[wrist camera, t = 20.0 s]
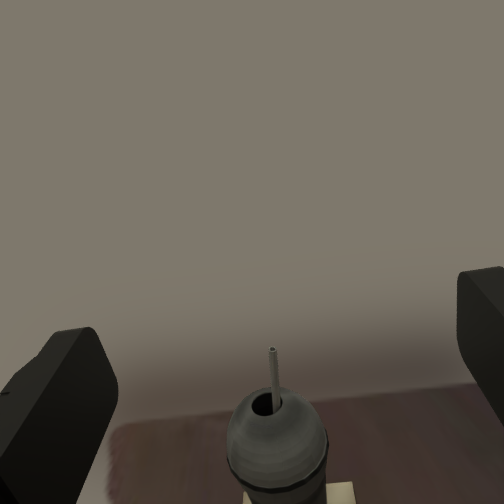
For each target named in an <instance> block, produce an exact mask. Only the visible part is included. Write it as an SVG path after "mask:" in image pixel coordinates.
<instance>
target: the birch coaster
mask: <svg viewBox="0 0 504 504" xmlns="http://www.w3.org/2000/svg"><path fill="white" fill-rule="evenodd" d="M326 493H327V504H356V501H355V496H354V491H353V486H352V482H343V483H332V484H326ZM243 504H252V503H251V501H250V499H249V497H248V495H247V492H244V498H243Z"/></svg>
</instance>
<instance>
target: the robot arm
mask: <svg viewBox="0 0 504 504" xmlns="http://www.w3.org/2000/svg"><path fill="white" fill-rule="evenodd" d="M457 341H458V346H459V349H460V353H461V356H462V358H463V360H464V362H465V364H466V366H467V367H468V369H469V371H470V372H471V374H472V376H473V377H474V379H475V381H476V382H477V384H478V385H479V387H480V389H481V390H482V392H483V394H484V395H485V397H486V398H487V400H488V402H489V403H490V405H491V407H492V408H493V410H494V412H495V413H496V415H497V416H498V418H499V420H500V421H501V423H502V425H503V426H504V268H503V267H500V266H498V267H491V268H485V269H478V270H472V271H465V272H461V273H460V274H459V276H458V280H457ZM117 401H118V383H117V379H116V376H115V374H114V372H113V369H112V367H111V365H110V362H109V360H108V358H107V356H106V353H105V351H104V349H103V346H102V344H101V342H100V340H99V337H98V335H97V333H96V332H95V330H94V329H92V328H90V327H84V328H78V329H71V330H65V331H58V332H55V333H54V334H53V335H52V336H51V337H50V339H49V340H48V341H47V343H46V344H45V346H44V347H43V348H42V350H41V351H40V352H39V354H38V355H37V356H36V357H34V358H33V359H32V360H31V361H30V362H29V363H27V364H26V365H25V366H24V367H22V368H21V369H20V370H19V371H18V372H16V373H15V374H14V375H13V377H12V378H11V379H10V381H9V382H8V383H7V385H6V386H5V387H4V389H3V390H2V391H1V393H0V504H76V502H77V500H78V497H79V495H80V492H81V490H82V488H83V485H84V483H85V480H86V478H87V475H88V473H89V471H90V468H91V466H92V463H93V461H94V458H95V456H96V454H97V451H98V449H99V446H100V444H101V442H102V439H103V437H104V434H105V432H106V429H107V427H108V425H109V422H110V420H111V418H112V415H113V413H114V410H115V408H116V405H117Z"/></svg>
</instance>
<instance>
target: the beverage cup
mask: <svg viewBox="0 0 504 504" xmlns="http://www.w3.org/2000/svg"><path fill="white" fill-rule="evenodd" d="M269 362H270V375H271V387H269V388H262V389H260V390H257V391H255V392H253V393H251V394H250V395H249V396H247V397H245V398H244V399H243V400H242V402H241V403H240V404H239V405H238V406H237V408H236V409H235V410H234V413H233V415H232V417H231V420H230V422H229V424H228V429H227V461H228V464H229V467H230V470H231V473H232V474H233V475H234V476H235V477H236V479H237V480H238V482H239V483H240V485H241V486H242V488H243V489H244V490H245V491H246V492H247V495H248V497H249V499H250V501H251V503H252V504H327V493H326V475H325V469H326V463H327V454H328V448H329V441H328V436H327V431H326V429H325V428H324V426H323V424H322V421H321V419H320V417H319V416H318V414H317V412H316V411H315V409H314V408H313V406H312V405H311V404H310V403H309V402H308V401H307V400H306V399H304V398H303V397H302V396H301V395H299V394H298V393H296V392H294V391H291V390H288V389H286V388H282V387H279V376H278V362H277V349H276V347H270V348H269Z"/></svg>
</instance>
